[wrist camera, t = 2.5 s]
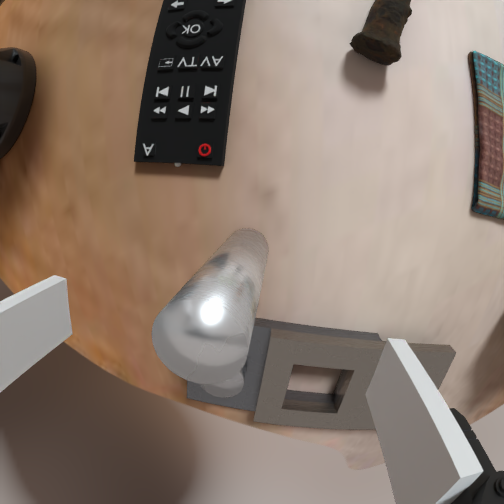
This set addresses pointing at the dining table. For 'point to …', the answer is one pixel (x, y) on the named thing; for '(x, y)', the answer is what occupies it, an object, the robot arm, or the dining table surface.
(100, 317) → the dining table surface
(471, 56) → the dish towel
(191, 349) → the steel pin
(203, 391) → the lower chain end
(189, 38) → the remote control
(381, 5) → the hand tool
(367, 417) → the grey block with knob
